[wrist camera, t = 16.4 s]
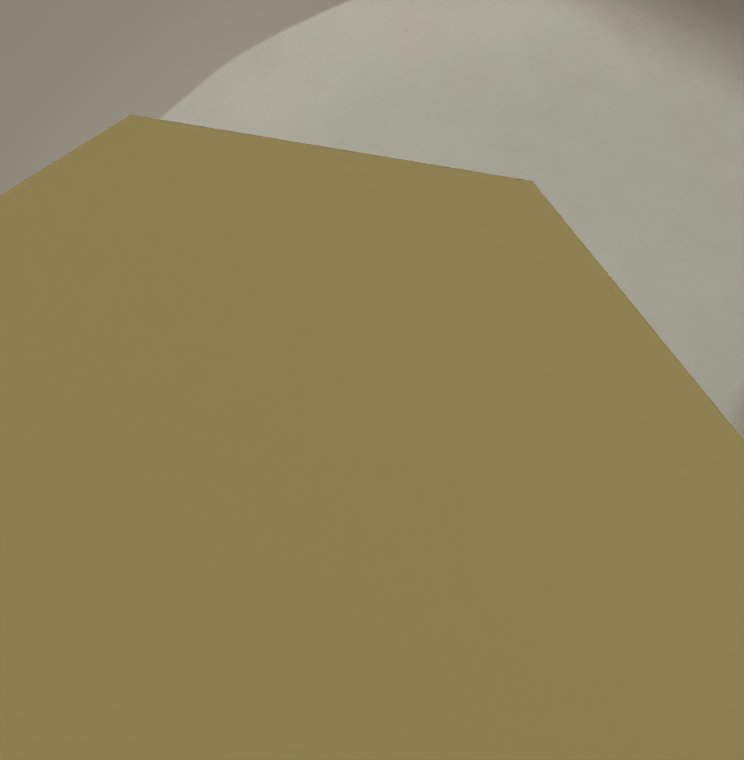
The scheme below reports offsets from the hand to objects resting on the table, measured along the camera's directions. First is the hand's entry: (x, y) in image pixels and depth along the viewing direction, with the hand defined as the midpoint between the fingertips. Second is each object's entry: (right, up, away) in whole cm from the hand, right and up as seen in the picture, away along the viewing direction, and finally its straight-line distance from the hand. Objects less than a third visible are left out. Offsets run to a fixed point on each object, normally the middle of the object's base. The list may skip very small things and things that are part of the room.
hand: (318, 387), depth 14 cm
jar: (-1, -4, +5) cm, 7 cm away
